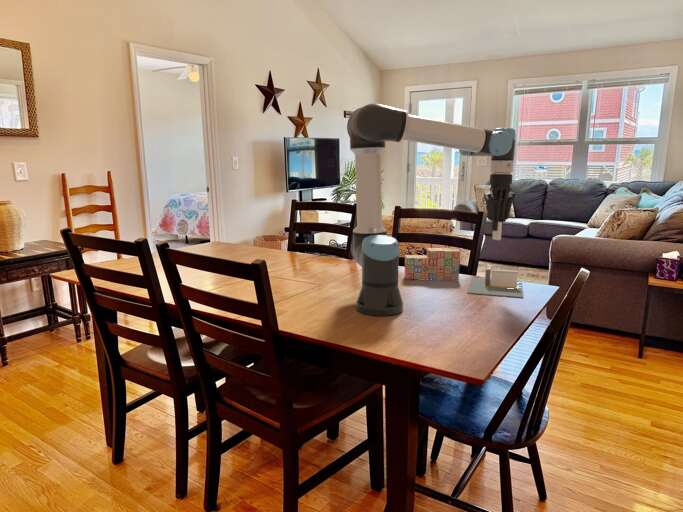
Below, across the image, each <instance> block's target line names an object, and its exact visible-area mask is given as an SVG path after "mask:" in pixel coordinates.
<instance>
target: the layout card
mask: <svg viewBox="0 0 683 512" xmlns="http://www.w3.org/2000/svg"><path fill="white" fill-rule="evenodd" d="M517 282H521V283H519V284H517V285H522V286H519V287H522V288H518V289H517V288H516V287H503V286H491V278H490V286H485V278H480V279H478V277H477V278H476V277H471V279H470V282H469V286H468V289H467V292H466V293H467V294H469V295H470V294H471V295H479V294H481V295H484V296H491V295H496V296H495V297H503V296H508V297H507V298H515V297H520V298H519V299H524V295H523V283H522V281H518V280H517ZM507 288H514V289H507ZM481 295H480V296H481Z"/></svg>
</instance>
